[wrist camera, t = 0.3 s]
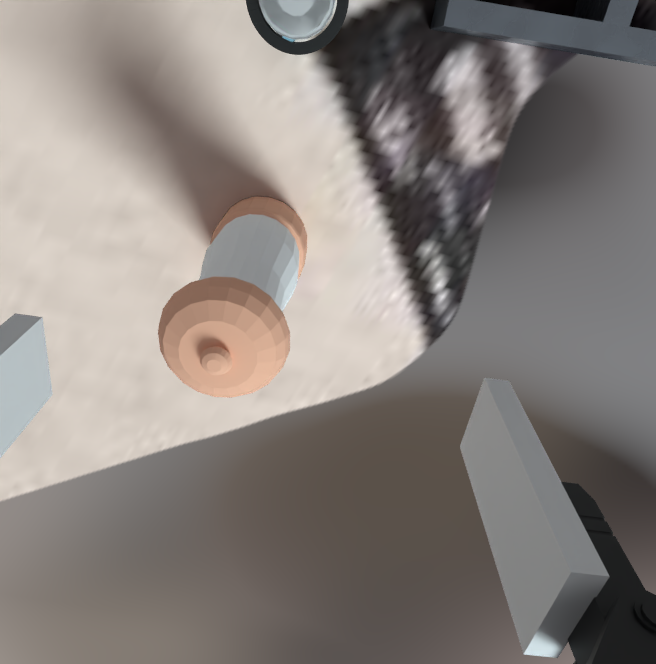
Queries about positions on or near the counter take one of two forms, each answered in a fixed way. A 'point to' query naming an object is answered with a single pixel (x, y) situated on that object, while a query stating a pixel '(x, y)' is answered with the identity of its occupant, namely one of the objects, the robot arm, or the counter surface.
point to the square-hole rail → (554, 27)
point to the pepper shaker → (237, 302)
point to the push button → (296, 22)
